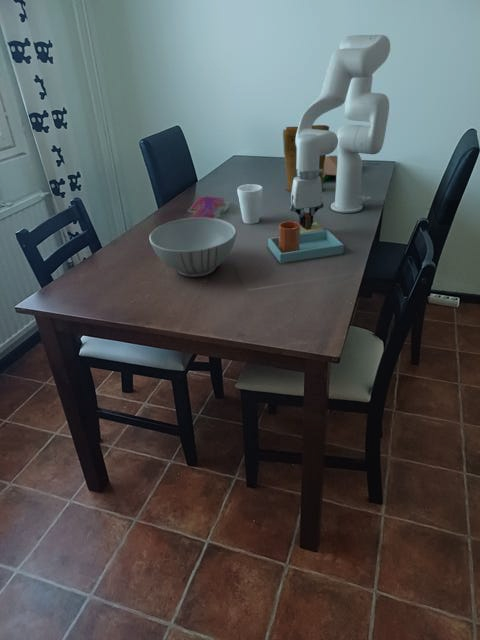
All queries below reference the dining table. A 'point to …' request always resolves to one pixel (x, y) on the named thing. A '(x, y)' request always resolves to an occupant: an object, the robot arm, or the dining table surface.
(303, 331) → the dining table surface
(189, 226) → the decorative bowl
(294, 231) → the cup
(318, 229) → the switch panel
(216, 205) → the pink plastic packet
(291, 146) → the pancake mix bag
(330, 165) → the house
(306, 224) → the brown switch lever
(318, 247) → the blue tray
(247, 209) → the foam cup
